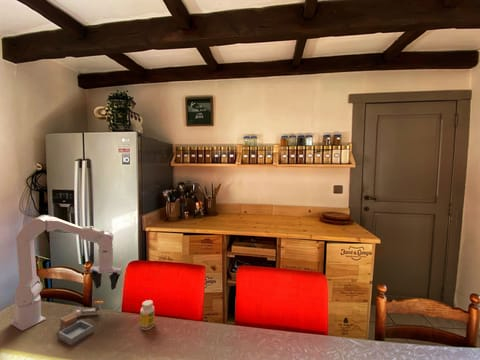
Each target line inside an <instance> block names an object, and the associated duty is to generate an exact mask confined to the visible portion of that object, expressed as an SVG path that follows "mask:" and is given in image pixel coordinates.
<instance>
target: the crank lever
mask: <svg viewBox="0 0 480 360" xmlns="http://www.w3.org/2000/svg"><path fill="white" fill-rule="evenodd" d="M102 304H104V301H103V300H96V301H93V305H94V306H95V307H94V308H83V307H79V308H75V309H74V310H72V312H71V313H72V314H74V315H75V316H76V317H77V319H79V318H81V317H83V316H84V315H86V314H87V315H88V314H97V313H99V311H100V310H101V305H102Z"/></svg>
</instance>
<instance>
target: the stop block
mask: <svg viewBox="0 0 480 360" xmlns="http://www.w3.org/2000/svg"><path fill="white" fill-rule="evenodd" d="M77 319H78V318H77V317H76V316H75V315H74V314H72V312H71V313H69V314H66V315H65V316H62V317H60V318H59V329H60V331H62V330H63V329H65V328H67V327H69V326H71V325H73V324H74V323H76V322H78V321H77Z"/></svg>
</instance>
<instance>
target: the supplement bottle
mask: <svg viewBox="0 0 480 360" xmlns="http://www.w3.org/2000/svg"><path fill="white" fill-rule="evenodd" d="M141 306H142V307H140V312H139V313H140V315H139V327H140V329H141V330H143V331H148V330H150V329H152V328H153V327H154V326H155V306H154V302H153V300H151V299H149V300H148V299H146V300H145V301H143V302H142V304H141Z"/></svg>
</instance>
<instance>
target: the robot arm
mask: <svg viewBox="0 0 480 360" xmlns="http://www.w3.org/2000/svg"><path fill="white" fill-rule="evenodd" d="M55 230H59V231H62V232H67V233H69V234H73V235H77V236H79V239H81V240H84V241H88V242H91V243H94V244H97V245H98V266H95V265H94V266H91V267H90V268H89V273H90V274H89V277H90V278H91V279H92V281H93V283H94V287H95V289H98V288H100V287H101V285H102V275H103V274H104V273H105V274H110V275H108V276H109V280H110V286H111V287H110V288H111V290H112V291H113V290H114V289H116V287H117V283H118V281H119V278H120V277H121V274H122V273H123V268H120V267H117V266H114V247H113V246H114V245H113V241H114V234H113V233H112V232H110V231H109V230H104V229H102V230H101V229H98V228H95V227H94V226H93V225H90V226H88V225H87V226H84V227H83V226H80V225H76V224H74V223H72V222H69V221H66V220H63V219H60V218H58V217H55V216H51V215H48V214H41V215H39V216H37V217H35V218H33V219H30V220H28V221H27V222H26V223H25V224H23V226H22V228H21V230H20V231H19V233H18V235H16V238H15V240H16V251H17V252H16V253H17V254H16V255H17V265H18V278H19V282H18V284H17V287H16V293H15V295H14V298H13V302H14V306H13V321H11V322H10V325H12V326H14V327H15V328H17V329H18V330H19V331H20V330H21V331H25V330H26V329H29V328H31V327H32V326H35V325H37V324H39V323H42V322H43V321H45V320H46V317H44V316H43V315H42V303H41V302H42V301H41V295H40V293H41V292H42V291H43V288H44V287H43V285H44V284H43V283H42V282H41V281H40V277H39V276H38V275H37V262H36V250H35V238H37V237H38V236H39V235H41V234H42V233H43V232H45V231H46V232H52V231H55Z"/></svg>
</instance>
